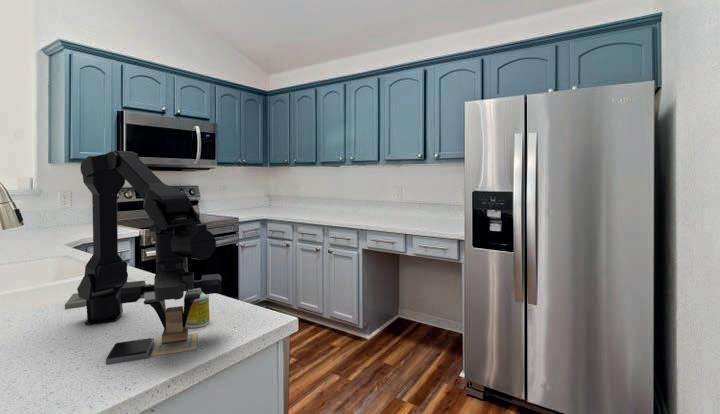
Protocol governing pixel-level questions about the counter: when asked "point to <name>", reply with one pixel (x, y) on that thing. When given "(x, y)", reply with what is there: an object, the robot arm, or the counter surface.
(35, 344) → the counter surface
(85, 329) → the counter surface
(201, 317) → the supplement bottle
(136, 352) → the ink pad
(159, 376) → the counter surface
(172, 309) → the stamp
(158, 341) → the card
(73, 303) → the soap mold
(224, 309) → the counter surface
